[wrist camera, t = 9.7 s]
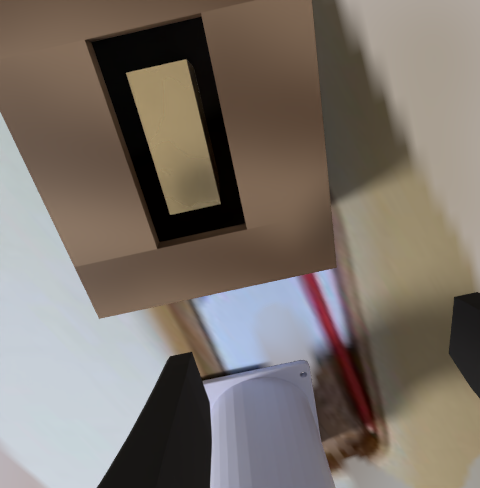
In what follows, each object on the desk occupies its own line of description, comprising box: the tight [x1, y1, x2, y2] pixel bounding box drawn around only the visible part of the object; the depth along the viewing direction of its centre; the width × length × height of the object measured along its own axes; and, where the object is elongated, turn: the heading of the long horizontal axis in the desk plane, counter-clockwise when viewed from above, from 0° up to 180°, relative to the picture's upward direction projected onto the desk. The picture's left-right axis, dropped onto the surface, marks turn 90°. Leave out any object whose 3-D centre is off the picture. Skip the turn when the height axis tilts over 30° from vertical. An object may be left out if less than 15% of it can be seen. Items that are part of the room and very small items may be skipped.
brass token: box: [126, 59, 221, 215], centre depth 14 cm, size 5×2×5 cm, turn 11°
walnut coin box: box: [0, 0, 337, 319], centre depth 14 cm, size 12×10×6 cm
